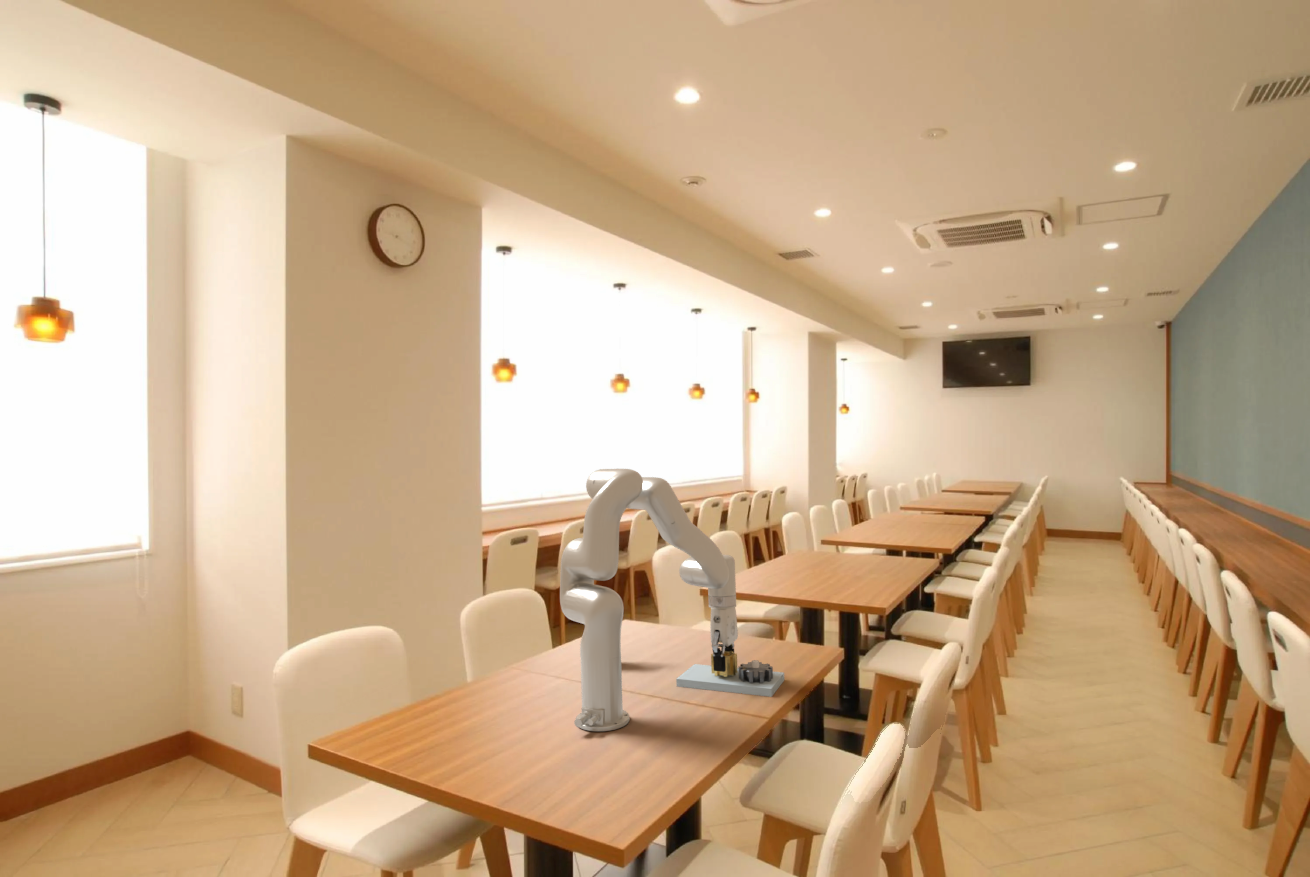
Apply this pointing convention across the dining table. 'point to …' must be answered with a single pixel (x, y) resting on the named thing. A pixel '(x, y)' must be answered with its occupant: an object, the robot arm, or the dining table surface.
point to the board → (727, 681)
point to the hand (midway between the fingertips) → (724, 666)
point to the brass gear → (727, 664)
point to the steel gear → (755, 673)
